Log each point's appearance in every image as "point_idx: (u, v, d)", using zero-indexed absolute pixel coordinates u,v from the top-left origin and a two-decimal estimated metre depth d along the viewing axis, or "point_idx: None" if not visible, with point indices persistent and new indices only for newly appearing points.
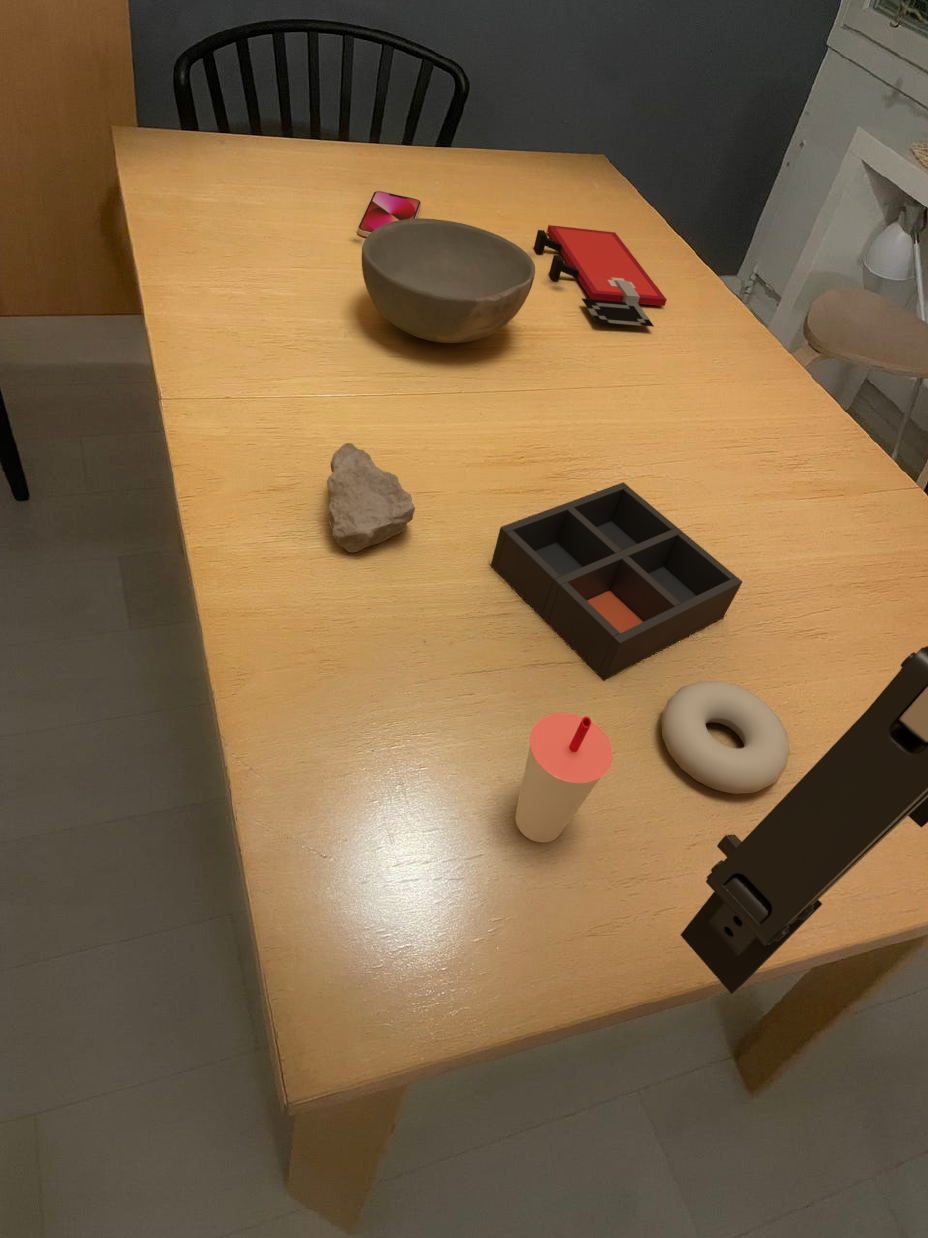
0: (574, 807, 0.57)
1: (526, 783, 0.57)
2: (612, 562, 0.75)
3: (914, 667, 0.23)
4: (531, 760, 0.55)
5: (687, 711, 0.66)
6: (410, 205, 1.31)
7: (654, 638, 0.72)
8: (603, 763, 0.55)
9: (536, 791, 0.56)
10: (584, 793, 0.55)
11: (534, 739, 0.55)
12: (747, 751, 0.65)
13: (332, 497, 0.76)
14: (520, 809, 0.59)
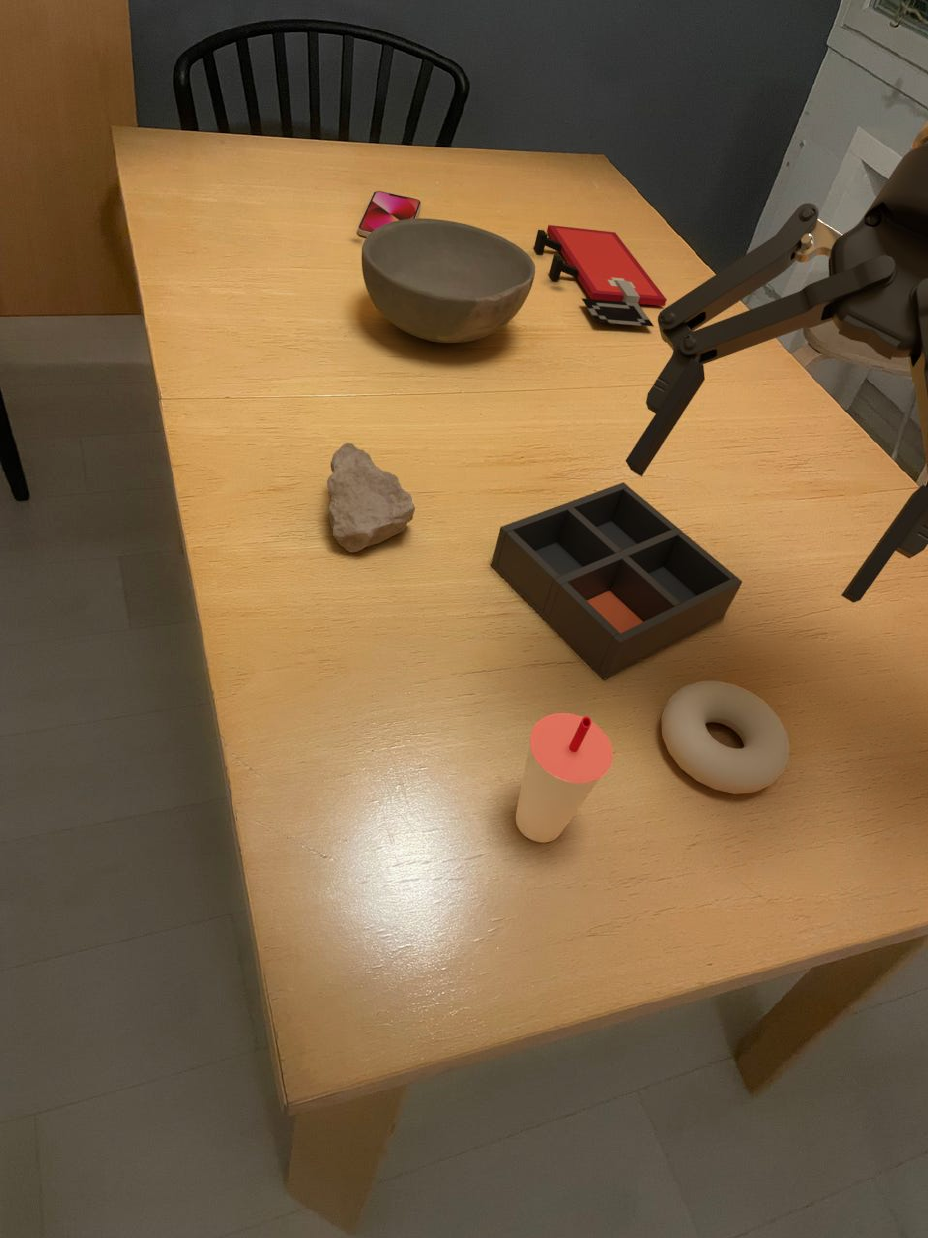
0: (574, 807, 0.57)
1: (526, 783, 0.57)
2: (612, 562, 0.75)
3: None
4: (531, 760, 0.55)
5: (687, 711, 0.66)
6: (410, 205, 1.31)
7: (654, 638, 0.72)
8: (603, 763, 0.55)
9: (536, 791, 0.56)
10: (584, 793, 0.55)
11: (534, 739, 0.55)
12: (747, 751, 0.65)
13: (332, 497, 0.76)
14: (520, 809, 0.59)
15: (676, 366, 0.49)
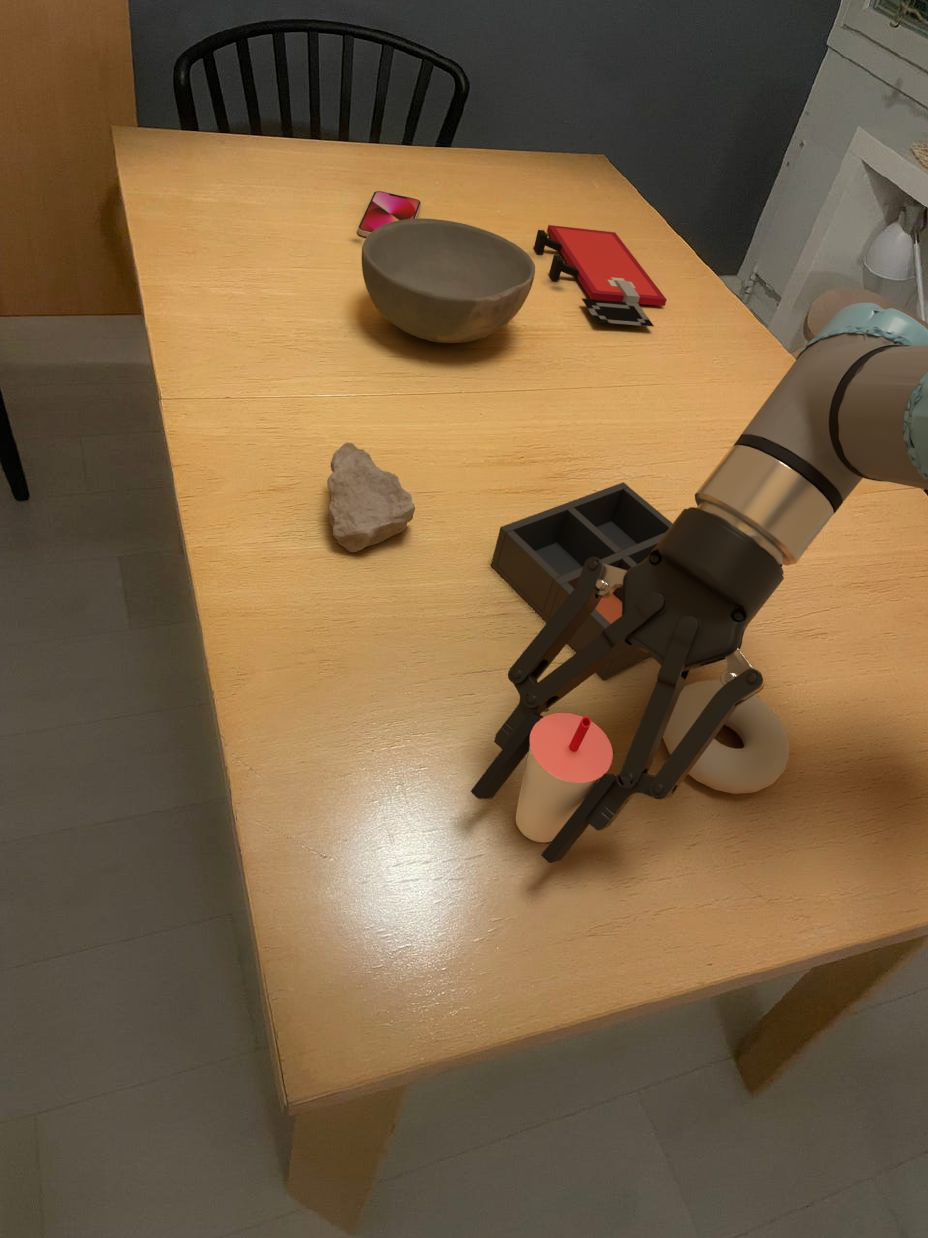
0: (574, 807, 0.57)
1: (526, 783, 0.57)
2: (612, 562, 0.75)
3: None
4: (531, 760, 0.55)
5: (687, 711, 0.66)
6: (410, 205, 1.31)
7: None
8: (603, 763, 0.55)
9: (536, 791, 0.56)
10: (584, 793, 0.55)
11: (534, 739, 0.55)
12: (747, 751, 0.65)
13: (332, 497, 0.76)
14: (520, 809, 0.59)
15: (521, 715, 0.57)
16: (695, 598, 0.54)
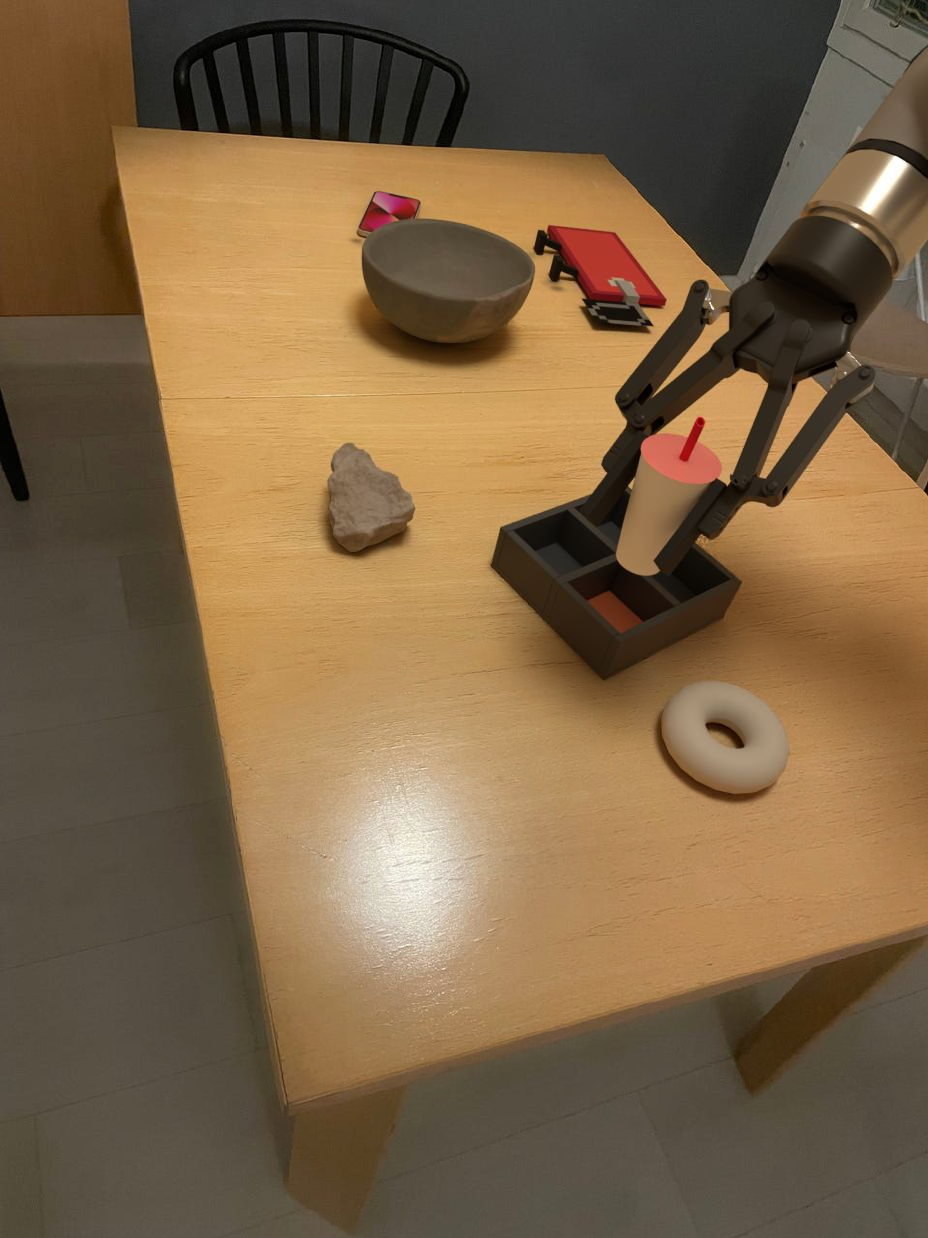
0: None
1: (633, 502, 0.58)
2: (612, 562, 0.75)
3: None
4: (642, 471, 0.56)
5: (687, 711, 0.66)
6: (410, 205, 1.31)
7: (654, 638, 0.72)
8: (713, 471, 0.56)
9: (646, 506, 0.57)
10: (694, 503, 0.56)
11: (645, 450, 0.56)
12: (747, 751, 0.65)
13: (332, 497, 0.76)
14: (624, 538, 0.60)
15: (628, 436, 0.58)
16: (805, 306, 0.55)
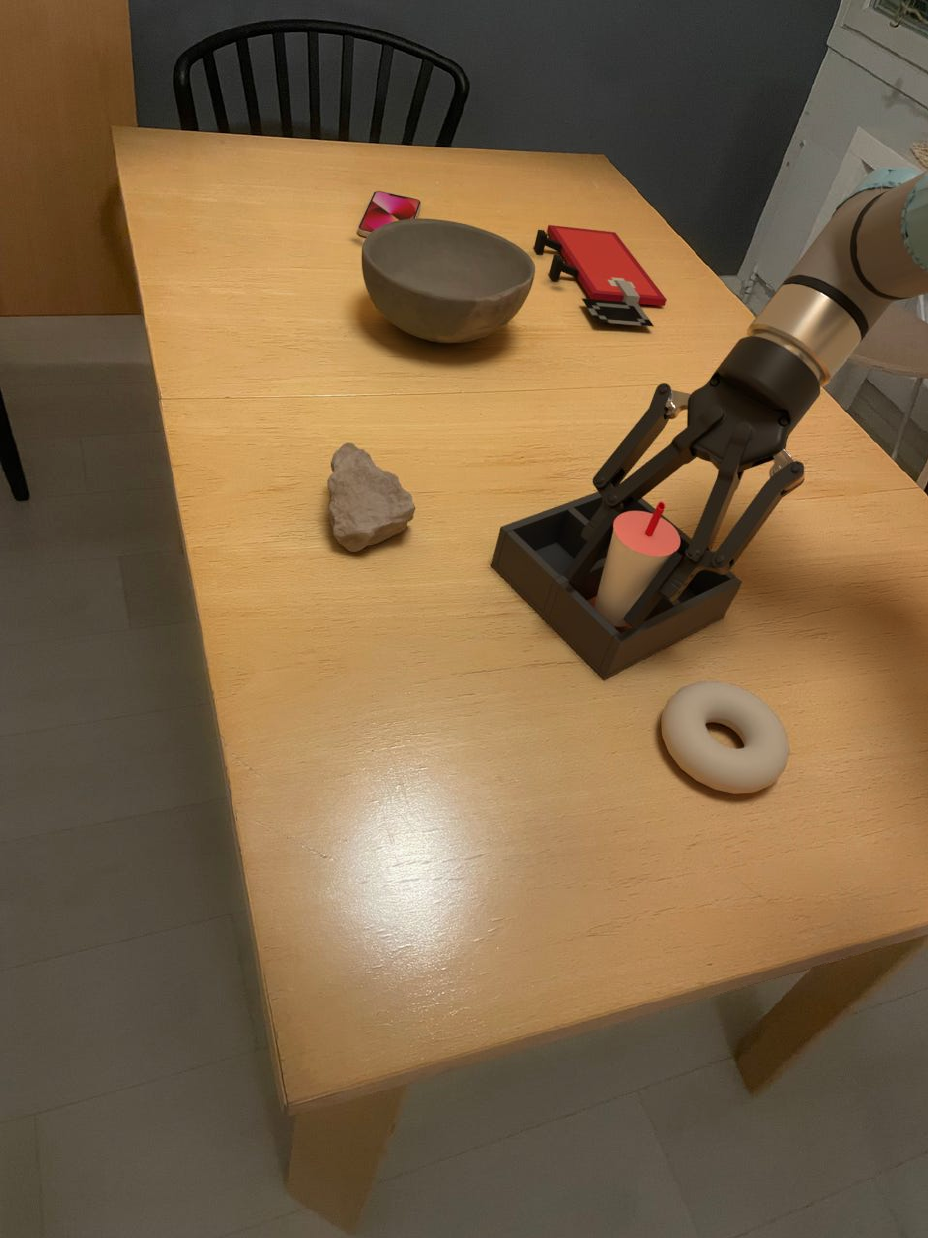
0: (647, 586, 0.69)
1: (608, 568, 0.70)
2: None
3: None
4: (614, 543, 0.68)
5: (687, 711, 0.66)
6: (410, 205, 1.31)
7: (654, 638, 0.72)
8: (673, 544, 0.67)
9: (617, 572, 0.69)
10: (657, 570, 0.68)
11: (617, 526, 0.68)
12: (747, 751, 0.65)
13: (332, 497, 0.76)
14: (600, 596, 0.72)
15: (603, 513, 0.70)
16: (748, 409, 0.67)
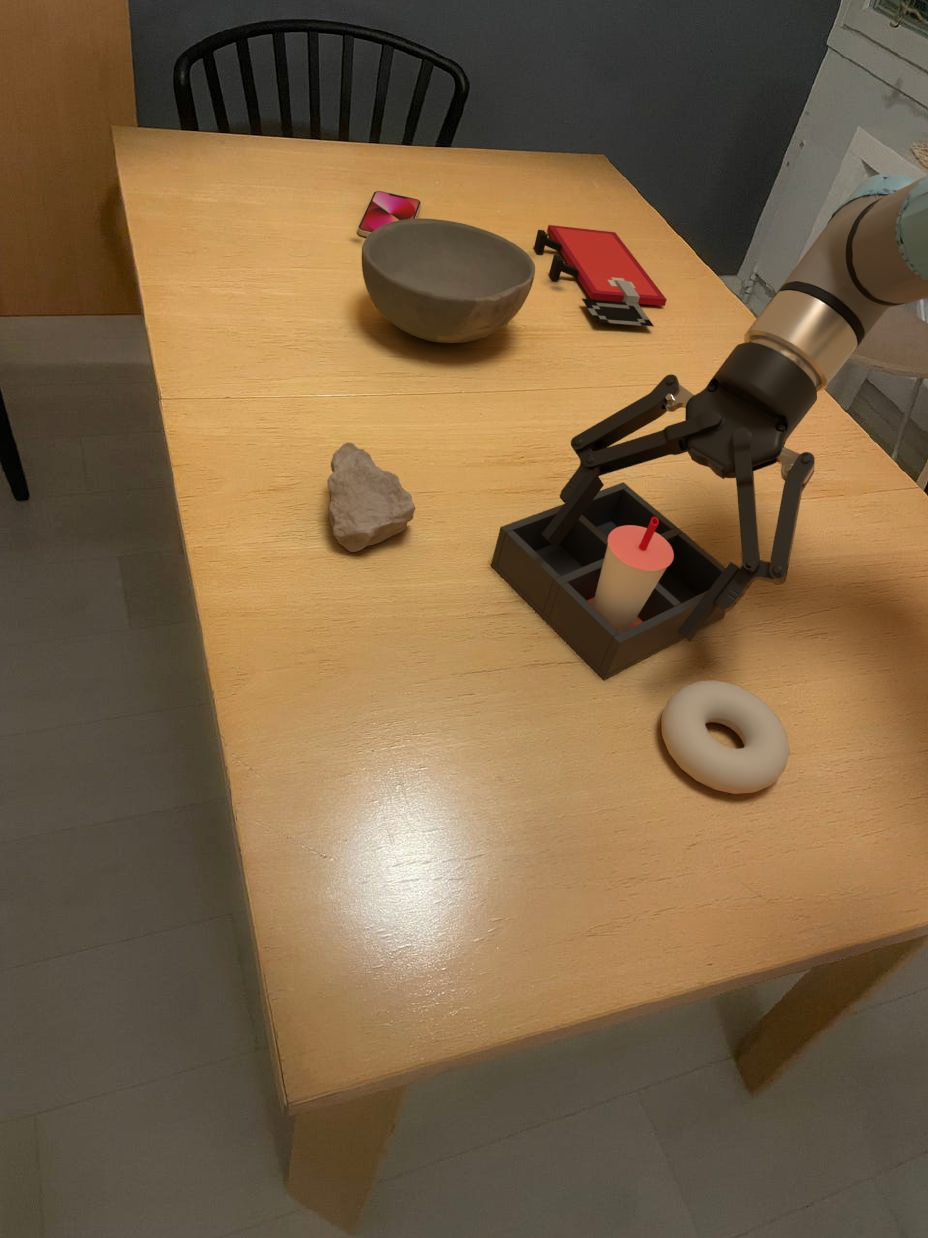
0: (641, 600, 0.71)
1: (602, 581, 0.71)
2: None
3: None
4: (608, 557, 0.69)
5: (687, 711, 0.66)
6: (410, 205, 1.31)
7: (654, 638, 0.72)
8: (666, 559, 0.69)
9: (611, 585, 0.70)
10: (650, 584, 0.69)
11: (611, 540, 0.69)
12: (747, 751, 0.65)
13: (332, 497, 0.76)
14: None
15: (581, 474, 0.72)
16: (746, 415, 0.67)
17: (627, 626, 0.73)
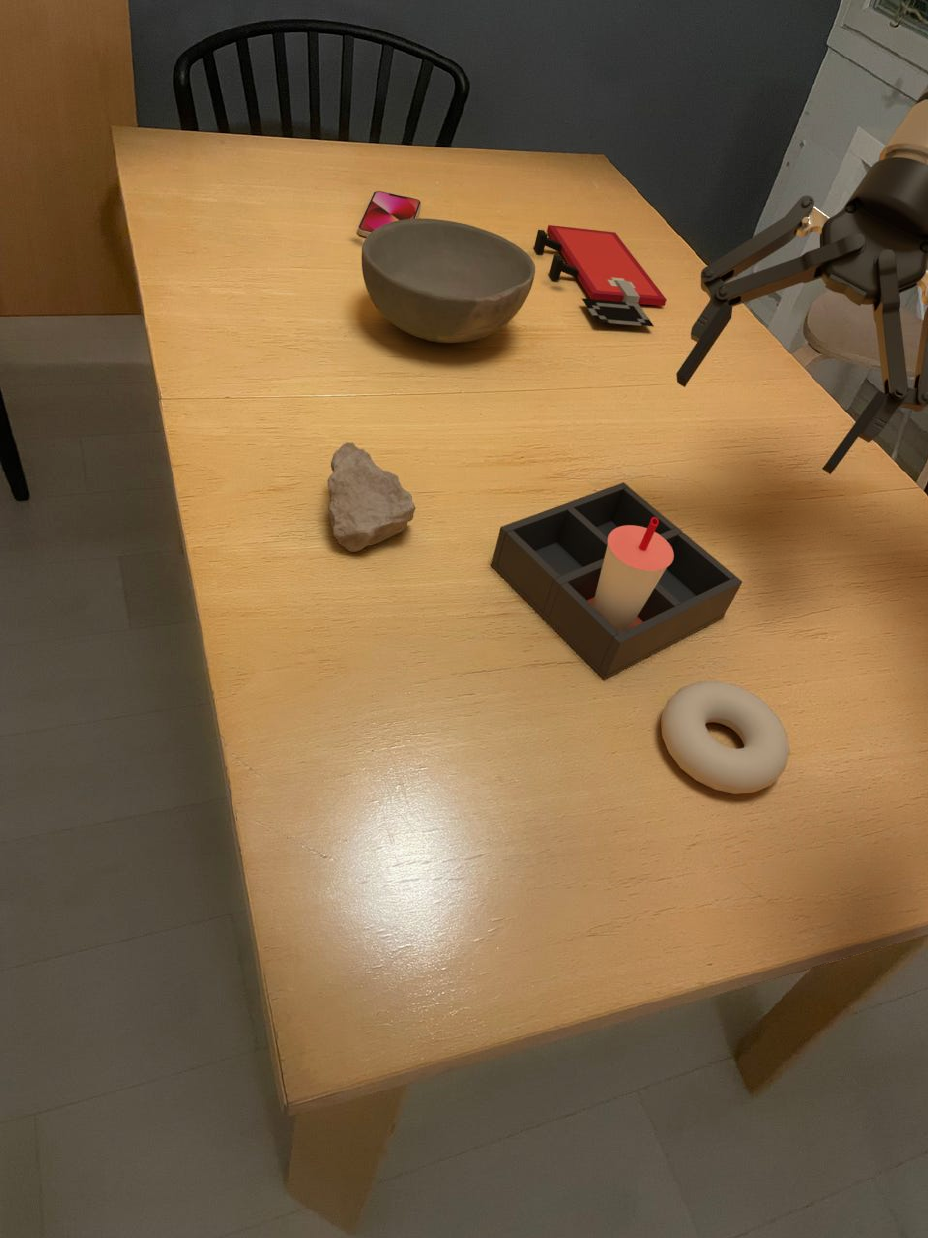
0: (641, 600, 0.71)
1: (602, 581, 0.71)
2: None
3: None
4: (608, 558, 0.69)
5: (687, 711, 0.66)
6: (410, 205, 1.31)
7: (654, 638, 0.72)
8: (666, 559, 0.69)
9: (611, 585, 0.70)
10: (650, 584, 0.69)
11: (611, 540, 0.69)
12: (747, 751, 0.65)
13: (332, 496, 0.76)
14: None
15: (713, 308, 0.70)
16: (889, 236, 0.66)
17: (627, 626, 0.73)
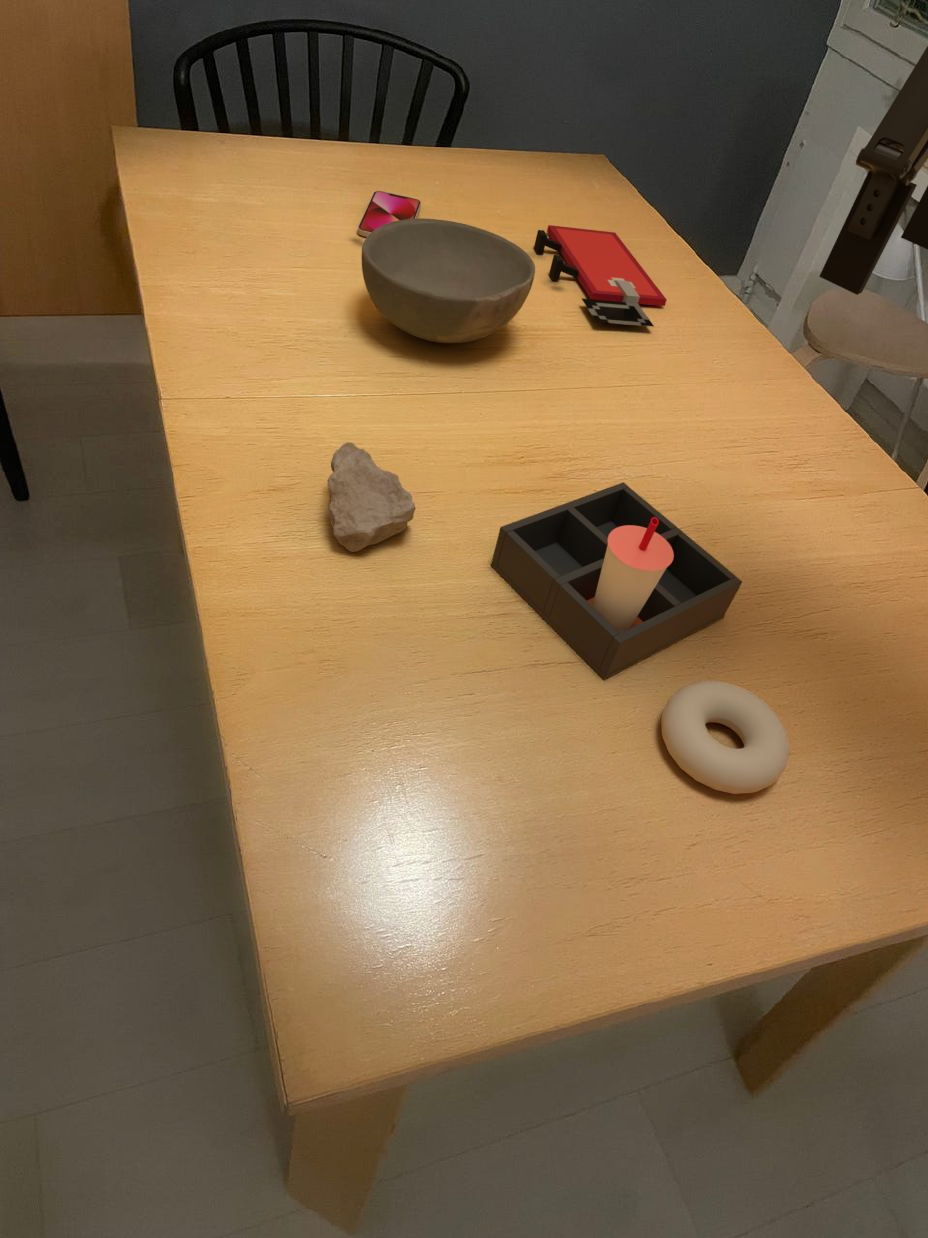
0: (641, 600, 0.71)
1: (602, 581, 0.71)
2: None
3: None
4: (608, 558, 0.69)
5: (687, 711, 0.66)
6: (410, 205, 1.31)
7: (654, 638, 0.72)
8: (666, 559, 0.69)
9: (611, 585, 0.70)
10: (650, 584, 0.69)
11: (611, 540, 0.69)
12: (747, 751, 0.65)
13: (333, 496, 0.76)
14: None
15: (892, 194, 0.50)
16: None
17: (627, 626, 0.73)
